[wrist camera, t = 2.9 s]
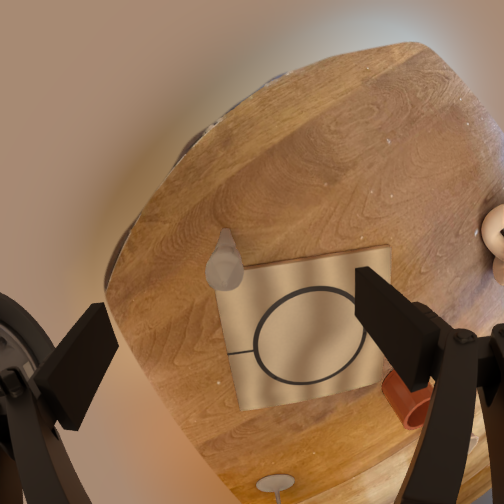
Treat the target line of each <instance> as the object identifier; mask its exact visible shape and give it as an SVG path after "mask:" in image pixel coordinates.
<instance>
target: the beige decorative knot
mask: <svg viewBox="0 0 504 504" xmlns="http://www.w3.org/2000/svg"><path fill="white" fill-rule="evenodd" d="M502 229H503V231H504V204H502V205H499V206H497V207H495V208H494V209H492V210H491V211H490V212H489V213H488V214H487V216H486V217H485V219H484V221H483V223H482V228H481V233H482V238H483V241H484V243H485V245H486V246H487V248H488V249H489V250H490V251H491V252H492V253H493V254H494V255H495V259H494V262H493V274H494V278H495V280H496V281H497V282H498V283H499V284H500V285H502V286H504V236H503V235H502V234H501V233H500V231H501V230H502Z"/></svg>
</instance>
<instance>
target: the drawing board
mask: <svg viewBox="0 0 504 504" xmlns="http://www.w3.org/2000/svg"><path fill="white" fill-rule="evenodd" d="M391 259H392V247H391V246H389V245H382V246H376V247H370V248H363V249H357V250H351V251H345V252H338V253H332V254H326V255H319V256H313V257H306V258H300V259H293V260H287V261H280V262H274V263H267V264H260V265H253V266H247V267H243V269H244V275H243V280H242V282H241V283H240V285H239V286H238V287H237V288H235V289H233V290H231V291H218V290H215V295H216V300H217V305H218V310H219V315H220V320H221V325H222V330H223V335H224V340H225V344H226V349H227V355H228V359H229V363H230V368H231V372H232V377H233V381H234V386H235V390H236V395H237V399H238V403H239V408H240V411H246V410H253V409H260V408H267V407H273V406H279V405H285V404H290V403H296V402H301V401H306V400H311V399H316V398H320V397H325V396H329V395H333V394H337V393H341V392H345V391H349V390H353V389H357V388H361V387H364V386H368V385H371V384H375V383H378V382H381V378H382V371H383V363H384V354H383V353H382V352H381V350H380V349H379V347H378V346H377V345H376V343H375V342H374V341H373V339H372V338H371V337H370V335H369V334H368V333H367V331H366V330H365V329H364V327H363V326H362V325H361V323H360V322H359V321H358V319H357V318H356V317H355V315H354V312H355V268H359V267H365V266H369V267H370V268H371V269H373V270H374V271H375V272H376V273H377V274H379V275H380V276H381V277H382V278H383V279H385V280H386V281H387V282H388V283H389V284H390V285H391Z"/></svg>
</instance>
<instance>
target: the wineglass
mask: <svg viewBox="0 0 504 504" xmlns="http://www.w3.org/2000/svg"><path fill="white" fill-rule="evenodd" d="M294 482H295V481H294V478H293V477H292V476H290V475H286V474H275V475H270V476H267V477H264V478H262V479H260V480H259V481H258V482H257V484H256V486H257V488H258V489H259V490H261V491H265V492H275V495H276V501H277V504H281V500H280V495H279V491H282V490H285V489H287V488H289V487H291V486H292V485H293V484H294Z"/></svg>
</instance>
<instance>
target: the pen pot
mask: <svg viewBox="0 0 504 504" xmlns="http://www.w3.org/2000/svg"><path fill="white" fill-rule="evenodd" d="M433 388H434V387H433V386H432V385H431V384H430V382H428V386H427V387H426V388H424V389H421V390H418V391H416V392H413V393H411V392H410V391H409V389H408V388H407V386H406V385H405V384H404V382H403V381H402V379H401V378H400V377H399V375H398V374H397V372H396V371H395V370H393V371H391V372H390V373H389V374H388V375H387V377H386V378H385V380H384V381H383V384H382V392H383V393H384V395H385V397H386V399H387V400H388V402H389V404H390V405H391V407H392V409H393V410H394V412H395V413H396V415H397V417H398V418H399V420H400V422H401V423H402V425H403V427H404V428H405V429H408V430H414V429H417V428H420V427H422V426H423V425H424V422H425V418H426V415H427V411H428V407H429V404H430V398H431V395H432V391H433Z"/></svg>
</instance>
